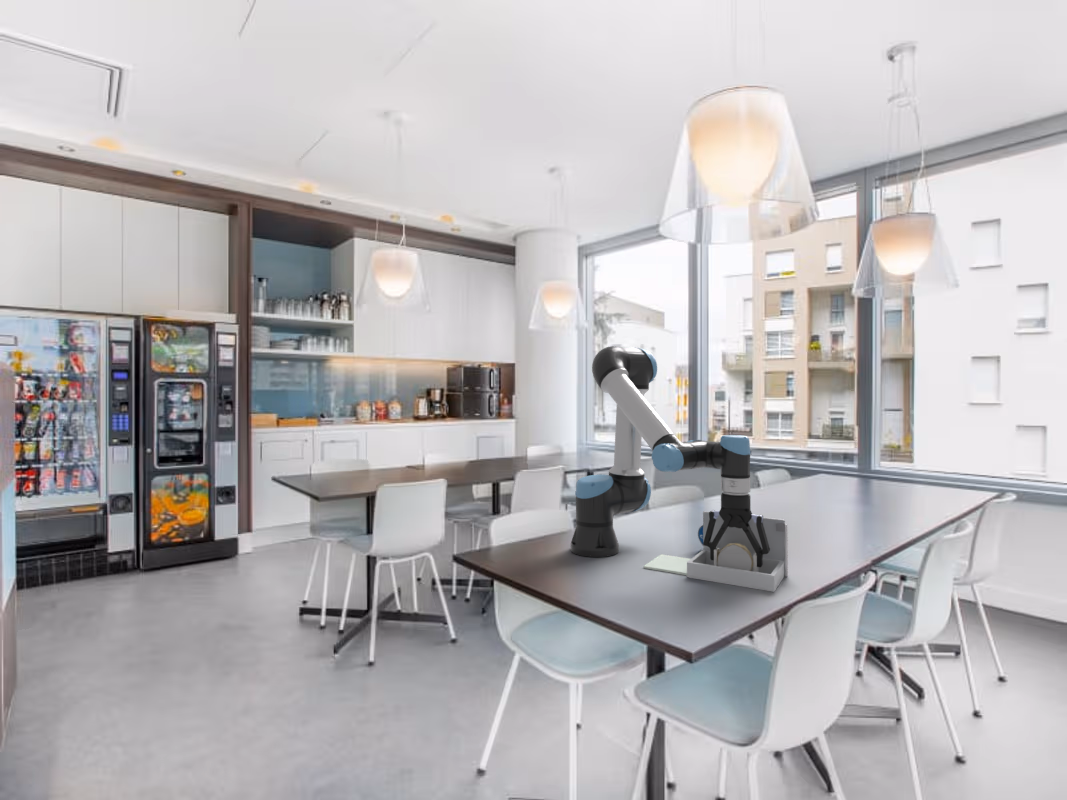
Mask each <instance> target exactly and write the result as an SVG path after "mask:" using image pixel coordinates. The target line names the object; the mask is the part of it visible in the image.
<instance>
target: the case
mask: <svg viewBox="0 0 1067 800" xmlns="http://www.w3.org/2000/svg"><path fill="white" fill-rule="evenodd" d="M709 512H710V511H705V510H704V511H703V512H702V525H703V542H704V538H705V535H706V531H707V527H708V523H709V520H710V519H709ZM723 522H724V521H723V519H722V518H721V516H720V515H719V516H718V518H717V519H716V522H715V526H714V530H713V533H712V537H711V541H710V542H712V541H713V540H714V538H715V536H716V535H717V533H718V531H719V530H720V528H721V526H722V524H723ZM748 523H749V525H750V527H751V530H752V532H753V534H754V535H755V537H756V539H757V541H758V543H759V545H760V546H761V548H762V545H761V541H760V537H759V534H758V530H757V526H756V523H754V520H753V519H752V518H751V520H750V521H749V522H748ZM763 526H764V530H765V533H766V537H767V540H768V544H769V547H770V551H769V553H768V554H763V565H762V567H759V572H754V571H753V567H752V570H751V571H747V570H741V569H734V568H728V567H721V566H715V565H714V561H713V560H711V559H710V548H709V547H708V546H704V545H702V547H703V548H702V550H701V551H700V552H698V553H697V554H696V555H694V556H692V558H690V559H691V560H689V561H688V562H687V575H686V577H687V578H690V579H695V580H696V579H697V580H702V581H708V582H712V583H713V582H714V583H718V584H725V585H731V586H737V587H743V588H748V589H749V588H750V589H755V590H760V591H766V592H767V591H768V592H773V593H775V592H776V590H777V589H778V587H779V585H780V584H781V582H782V580H784V577H785V578H787V577H789V571H788V570H789V562H788V561H789V558H788V557H789V554H788V553H789V552H788V551H789V550H788V547H789V546H788V545H789V543H788V541H789V539H788V538H789V537H788V533H789V532H788V530H789V528H788V523H786V519H783V518H775V517H774V518H772V517H764V516H763ZM730 543H739V544H741V545H744V546H746V548H748V550H749V551H750V553H751V555H752V559H753V555H754V554H755V553H756V552H755V550H754V548H753V547H752V545H751V543H750V541H749V539H748V537H747V535H746V534H745V532H744V531H743V529H742V528H741V529H740V528H736V527H729V526H728V528H727V529H726V531H725V533H724V534H723V536H722V538H721V539H720V541H719V543H718V544H717V546H716V548H719V552H720V551H721V549H722V548H723V547H725V546H726V545H727V544H730ZM762 549H763V548H762ZM705 563H706V564H705Z"/></svg>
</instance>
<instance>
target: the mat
mask: <svg viewBox="0 0 1067 800" xmlns="http://www.w3.org/2000/svg"><path fill="white" fill-rule="evenodd" d="M691 559H692V558H689V557H682V556H676V555H675V556H674V555H668V554H662V553H661V554H659V555H658V556H657V557H655V558H653V559H651V561H648V562H647V563H646V564H644V565H643V569H647V570H651V571H652V570H653V571H658V572H664V573H671V574H677V575H682V576H687V562H688V561H689V560H691ZM705 564H706V563H705Z"/></svg>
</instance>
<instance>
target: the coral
mask: <svg viewBox="0 0 1067 800" xmlns="http://www.w3.org/2000/svg"><path fill="white" fill-rule="evenodd" d="M717 564H718V566H721V567H728V568H734V569H741V570H747V571H751V570H752V567H753V559H752V555H751V553H750V551H749V550H748V548H746V546H744V545H741V544H739V543H730V544H727V545H726V546H725V547H723V548H722V549H721V551H720V552H719V555H718V559H717Z"/></svg>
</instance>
